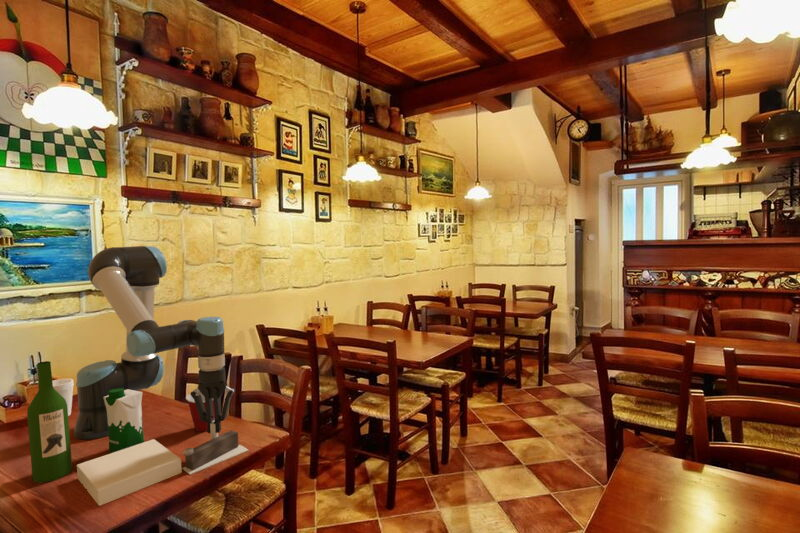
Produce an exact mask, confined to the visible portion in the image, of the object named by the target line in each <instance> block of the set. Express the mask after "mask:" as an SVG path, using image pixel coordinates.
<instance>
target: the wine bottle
mask: <svg viewBox="0 0 800 533" xmlns="http://www.w3.org/2000/svg"><path fill="white" fill-rule="evenodd" d="M36 366H37V367H36V368H37V383H38V386H37V387H38V391H37V393H36V394H35V396H34V397H33V399H32V401H31V402H30V403H29V405H28V408H27V412H26V416H27V417H26V418H27V427H28V428H27V429H28V438H29V440H28V442H29V452H30V465H31V476H32V480H33V482H35V483H38V484H42V483H44V484H45V483H47V482H48V483H49V482H53V481H56V480H60V479H61V477H62V478H64V477H66V476H67V475H68V474H70V473H71V472H72V469H73V462H72V450H71V437H70V424H69V423H70V422H69V416H68V409H67V403H66V400H65V399H64V398H63V397H62V396H61V395H60V394H59V393H58V392H57V391H56V390H55V389H54V388H53V383H52V381H53V376H52V364H51V361H50V360H48V361H47V360H45V361H40V362H37V363H36ZM65 475H66V476H65ZM63 476H64V477H63Z"/></svg>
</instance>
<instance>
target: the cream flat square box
mask: <svg viewBox="0 0 800 533" xmlns="http://www.w3.org/2000/svg"><path fill="white" fill-rule="evenodd" d="M76 470H77V471H76V472H77V473H76V474H77V479H78V481H79V482H80V484H81V485H82V484H83V485H82V486H83V487H84V489H85V490H86V489H87V490H86V491H87V492H88V494H89V495H90V496H91V497H92V499H93V501H95V503H96V504H97V505H98V506H99V507H100V506H102V505H105V504H108V503H110V502H113V501H114V500H118V499H119V498H122V497H125V496H128V495H130V494H133V493H135V492H139V491H140V490H143V489H145V488H148V487H150V486H152V485H155V484H157V483H159V482H162V481H165V480H166V479H169V478H172V477H174V476H177V475H180V474H182V473H183V472H182V470H183V469H182V460H181V458H180V457H179V456H178V455H176V454H175V453H173V452H172V451H171V450H170V449H168V448H167V447H165V446H164V445H163V444H161V443H160V442H159V441H157V440H156V439H154V438H152V439H150V440H148V441H147V440H146V441H144V443H141V444H138V445H135V446H132V447H129V448H126V449H123V450H120V451H117V452H114V453H109V454H105V455H102V456H99V457H96V458H93V459H89V460H87V461H84V462H80V463H78V464H76Z"/></svg>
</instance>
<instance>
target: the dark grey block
mask: <svg viewBox="0 0 800 533" xmlns="http://www.w3.org/2000/svg"><path fill="white" fill-rule="evenodd" d="M238 445H239V432H238V431H234V430H229V431H226V432H224V433H222V434H220V435H218V437H216V438H214V439H212V440H211V439H210V440H208V441H205V442H203V443H201V444H200V445H197V446H195V447H187V448H185V449H184V450H183V451H182V452H183V456H184V457H185V458H184V459H185V466H186V468H189V469H192V470H194V469H196V468H198V467H200V466H202V465H204V464H205V463H207V462H209V461H211V460H213V459H215V458H217V457H219V456H221V455H223V454H224V453H226V452H228V451H230V450H232V449H234V448H236V447H238Z"/></svg>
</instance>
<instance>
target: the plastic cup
mask: <svg viewBox="0 0 800 533" xmlns="http://www.w3.org/2000/svg"><path fill="white" fill-rule="evenodd" d="M200 395H201V397H202V400H203V404H204V407H205V410H206V402H205V397H204V396H203V394H202V393H201V394H200ZM185 400H186V401H187V404H188V407H189V411H190V415H191V419H192V422H193V426H194V427H193V428H194V430H195V431H196V432H206V430H207V423H206V422H204V421H203V422H201V420H200V417H199V414H198V411H197V407H196V404H195V401H194V399H193V397H192V396H191V395H190V393H189V394H187V395H186V396H185ZM213 418H214V402H213ZM213 420H215V418H214V419H213Z"/></svg>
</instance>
